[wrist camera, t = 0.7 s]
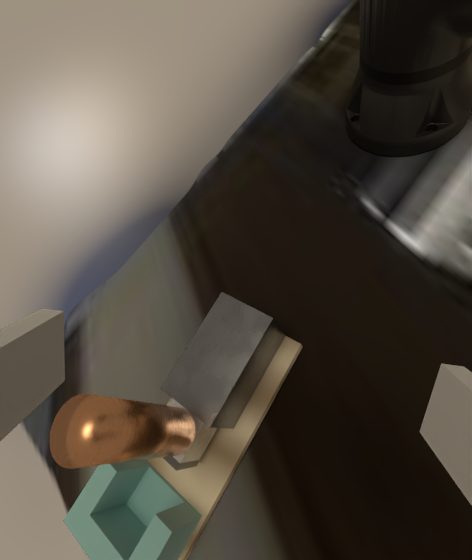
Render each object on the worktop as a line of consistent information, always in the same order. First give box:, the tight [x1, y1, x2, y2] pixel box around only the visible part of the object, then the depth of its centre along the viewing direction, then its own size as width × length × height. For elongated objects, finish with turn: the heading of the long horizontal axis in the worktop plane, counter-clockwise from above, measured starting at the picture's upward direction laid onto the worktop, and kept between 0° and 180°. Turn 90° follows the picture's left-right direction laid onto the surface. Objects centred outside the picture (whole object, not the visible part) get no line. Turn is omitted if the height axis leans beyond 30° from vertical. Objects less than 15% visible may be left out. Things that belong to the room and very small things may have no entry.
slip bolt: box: [50, 394, 217, 471], centre depth 26 cm, size 15×4×16 cm, turn 147°
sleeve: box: [161, 292, 285, 429], centre depth 32 cm, size 11×6×6 cm, turn 147°
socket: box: [63, 459, 202, 560], centre depth 29 cm, size 6×9×6 cm, turn 57°
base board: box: [146, 336, 303, 560], centre depth 34 cm, size 25×10×1 cm, turn 147°
